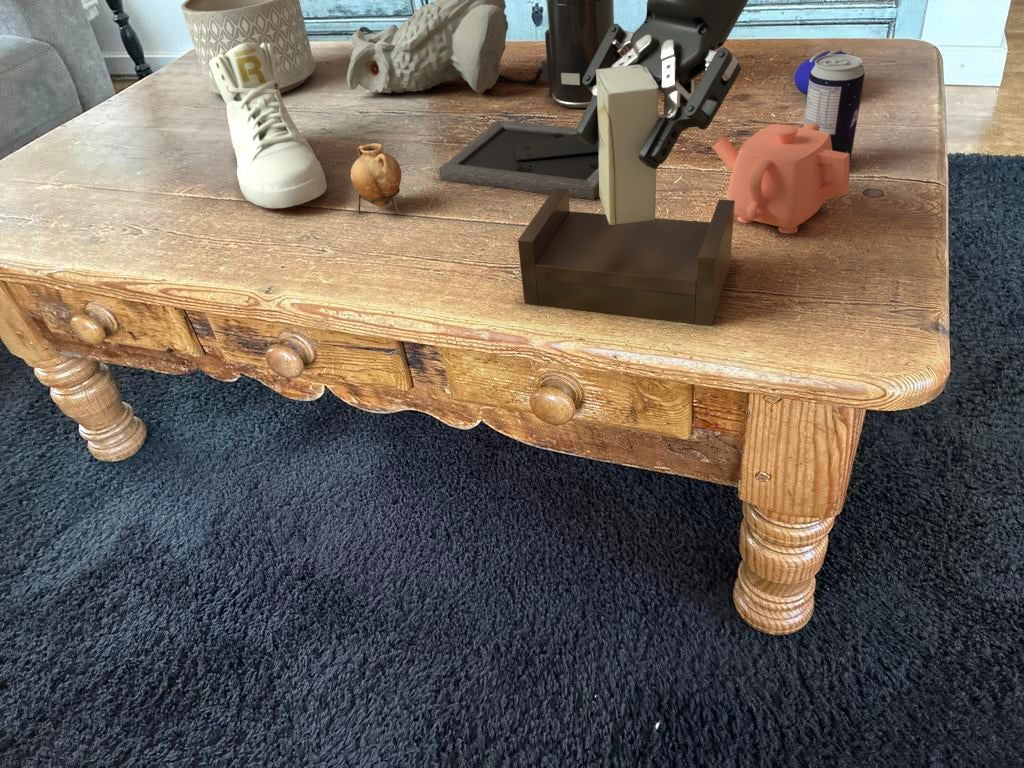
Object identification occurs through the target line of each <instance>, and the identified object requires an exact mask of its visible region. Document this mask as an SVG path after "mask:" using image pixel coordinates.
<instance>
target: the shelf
mask: <svg viewBox="0 0 1024 768" xmlns="http://www.w3.org/2000/svg"><path fill="white" fill-rule="evenodd" d="M734 206H735V201H734V200H727V199H718V200H717V203H716V206H715V210H714V212H713V214H712V217H711V220H710V221H697V220H687V219H686V220H685V219H672V218H658V217H655V219H654V220H649V221H640V222H632V223H624V224H615V225H610V224H609V222H608V219H607V217H606V214H605V213H595V212H594V213H593V212H584V211H583V212H581V211H570V197H569V192H568V189H561V188H554V190H553V191H552V192H551V194H548V196H547V198H546V199H545V201H544V202H543V203H542V205H541V206H540V208H539V210H537V212H536V214H535V215H534V216H533V217H532V219H531V221H530V222H529V223H528V225H527V226H526V228H525V229H524V230H523V232H522V233H521V235H520V236H519V238H518V239H517V246H518V247H517V248H518V256H519V265H520V273H521V285H522V293H523V301H524V304H525V305H526V304H527V305H534V306H540V307H541V306H542V307H550V308H558V309H567V310H577V311H584V312H591V313H602V314H610V315H619V316H625V317H634V318H635V317H636V318H642V319H643V318H644V319H652V320H660V321H667V322H669V321H670V322H676V323H684V324H685V323H686V324H695V325H702V326H712V323H713V320H714V317H715V314H716V311H717V307H718V304H719V301H720V298H721V295H722V291H723V288H724V285H725V282H726V279H727V276H728V273H729V271H730V266H731V261H732V260H731V259H732V258H731V257H732V245H733V230H734V218H735V215H734Z"/></svg>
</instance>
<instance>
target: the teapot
mask: <svg viewBox="0 0 1024 768" xmlns="http://www.w3.org/2000/svg"><path fill="white" fill-rule="evenodd" d="M711 148H712V149H713V151H714V152H715V153H716V154H717V156H718V157H719V158H720V159H721V161H722V162H723V163H724V165H726V167H727V169H729V171H730V174H731V175H730V179H729V184H728V189H727V196H726V197H727V198H726V200H734V201H735V206H734V216H736V217H737V221H738V222H740V223H743V224H751V223H754V222H757V223H762V224H765V225H770V226H776V227H778V231H779V232H780V233H782V234H795V233H796V232H798V226H799V225H801V224H803V223H804V222H806V221H807V220H808V219H810V218H811V217H812V216H814V215H815V214H817V213H818V211H819V210H820V209H821V207H822V206H823V205H824V204H825V201H828V200H830V199H833V198H836V197H839V196H842V195H844V194H845V193H846V192H847V191H848V190H849V189H850V162H851V160H850V154H848V153H843V152H837V151H832V144H831V138H830V135H829V134H828V133H826V132H821V131H819V125H818V124H816V123H809V124H806V125H805V126H804V125H803V126H802V127H800V126H794V125H790V124H780V123H772V124H770V125H768V126H765V127H764V128H762V129H760V130H759V131H757V132H755V133H754V134H753V135H751V136H750V137H749V138H748V139H747V140H746V141H745V142H744V143H743V144H742V145H741V146H740V148H739V150H737V149H736V147H734V145H733V143H731V141H730V140H729V139H728V138H727V136H724V137H722V138H721V139H719V140H718V141H717V142H715V143H714V144H713V145H712V146H711Z"/></svg>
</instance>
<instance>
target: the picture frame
mask: <svg viewBox="0 0 1024 768" xmlns="http://www.w3.org/2000/svg"><path fill="white" fill-rule="evenodd" d="M438 169H439V176H440V180H441V181H446V182H456V183H462V184H471V185H477V186H484V187H485V186H486V187H491V188H492V187H493V188H500V189H507V190H508V189H509V190H514V191H515V190H516V191H523V192H530V193H537V194H545V195H550V194H551V192H552V191H553V190H554V188H561V189H568V192H569V198H575V199H583V200H591V201H594V200H595V199H596V198H597V197H598V196H600V195H599V149H598V140H597V142H596V144H595V145H593V146H592V145H589V144H586V143H585V142H584V141H582V140H581V139H580V138H579V137H577V127H569V126H568V127H567V126H558V125H557V126H556V125H547V124H535V123H525V122H516V121H515V122H514V121H505V120H498V121H496V122H495V123H493V124H492V125H491V126H489V128H487V129H486V130H484V131H483V132H482V133H481V134H480V135H478V136H477V137H476V138H475V139H474V140H472V141H471V142H470V143H469V144H467V145H466V146H465V147H464V148H462V149H461V150H460V151H459V152H458V153H455V155H454V156H453V157H451V158H450V159H448V160H447V161H446V162H445V163H444V164H443V165H441V166H440V167H439V168H438Z"/></svg>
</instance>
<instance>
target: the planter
mask: <svg viewBox="0 0 1024 768" xmlns="http://www.w3.org/2000/svg"><path fill="white" fill-rule="evenodd" d="M180 8H181V10H182V14H183V17H184V20H185V23H186V27H187V29H188V33H189V35H190V38H191V42H192V43H193V48H194V50H195V51H194V52H195V53H196V56H197V57H196V58H197V60H198V63H199V66H200V69H201V72H202V76H203V78H204V81H205V85H206V87H207V89H208V90H209V91H210V92H211V93H213V94H217V95H221V92H220V90H219V88H218V86H217V84H216V81H215V78H214V74H213V72H212V70H211V67H210V64H209V62H210V60H211V59H213V58H214V57H215V56H217V55H218V54H220V53H222V52H225V51H229V50H230V49H232V48H234V47H236V46H238V45H239V44H244V43H245V42H246V43H248V42H249V43H257V44H258V45H259V46H260V45H261V44H262V43H265V44H266V45H267V46H268V43H270V44H272V45H273V49H274V52H275V56H276V59H277V62H278V67H279V75H280V87H279V91H280V93H281V94H283V93H286V92H289V91H291V90H293V89H296V88H297V87H299V86H301V85H302V84H304V83H305V82H306V80H307V79H308V77H309V76H311V75H312V74H313V73H314V71H315V69H316V63H315V60H314V56H313V55H314V54H313V52H312V48H311V43H310V39H309V35H308V31H307V26H306V23H305V18H304V14H303V10H302V6H301V1H300V0H185V1H183V3H182V4H181V5H180Z"/></svg>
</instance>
